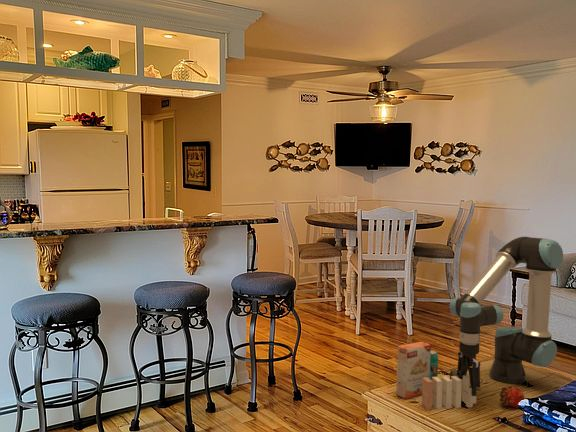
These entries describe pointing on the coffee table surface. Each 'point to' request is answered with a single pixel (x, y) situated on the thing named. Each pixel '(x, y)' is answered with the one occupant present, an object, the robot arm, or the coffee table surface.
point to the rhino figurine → (453, 373)
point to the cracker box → (412, 368)
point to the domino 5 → (466, 390)
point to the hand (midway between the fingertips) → (467, 399)
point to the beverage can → (433, 364)
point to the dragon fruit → (511, 396)
